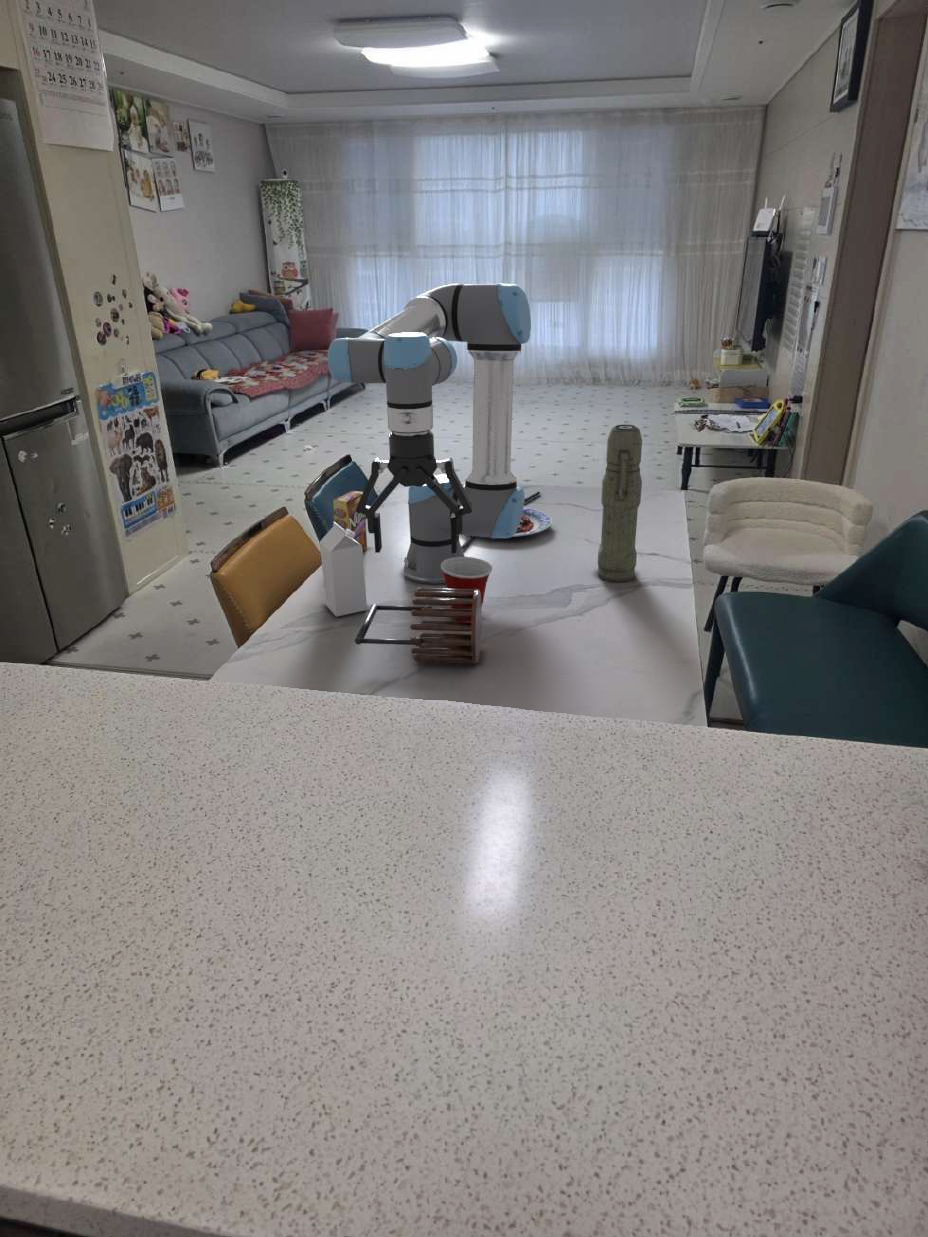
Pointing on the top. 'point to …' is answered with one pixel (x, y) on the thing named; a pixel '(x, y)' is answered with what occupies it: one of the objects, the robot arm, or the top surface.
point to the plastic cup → (466, 576)
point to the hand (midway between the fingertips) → (416, 550)
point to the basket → (438, 626)
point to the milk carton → (343, 572)
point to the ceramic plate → (532, 522)
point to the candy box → (351, 516)
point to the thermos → (620, 504)
